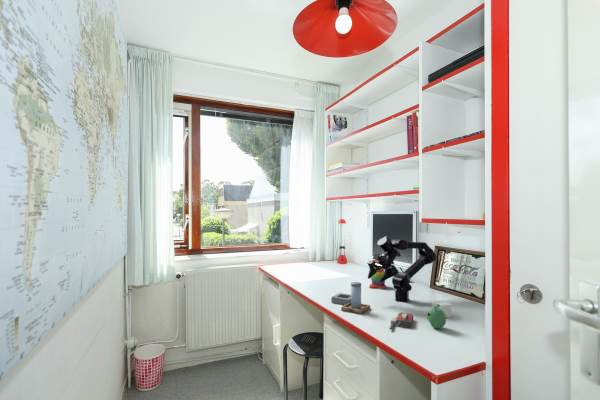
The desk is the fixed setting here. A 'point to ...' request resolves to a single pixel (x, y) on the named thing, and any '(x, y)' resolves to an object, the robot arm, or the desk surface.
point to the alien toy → (436, 317)
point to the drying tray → (359, 311)
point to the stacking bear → (378, 279)
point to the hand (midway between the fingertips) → (374, 279)
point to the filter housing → (341, 298)
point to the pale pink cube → (443, 307)
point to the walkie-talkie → (402, 320)
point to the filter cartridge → (356, 295)
